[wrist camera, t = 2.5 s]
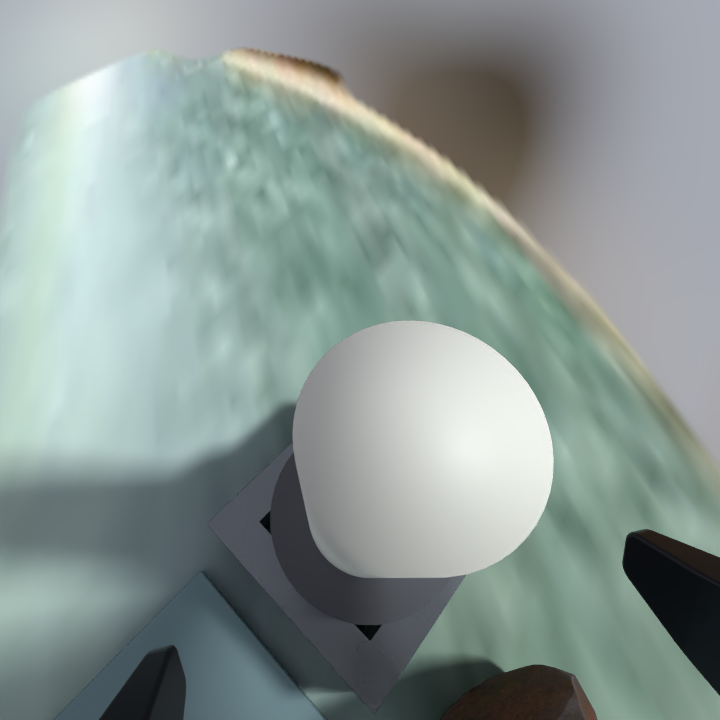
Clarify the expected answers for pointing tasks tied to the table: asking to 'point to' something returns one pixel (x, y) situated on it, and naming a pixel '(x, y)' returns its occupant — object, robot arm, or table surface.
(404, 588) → the pin
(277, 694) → the mat
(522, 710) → the bolt
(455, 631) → the table surface
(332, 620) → the block
